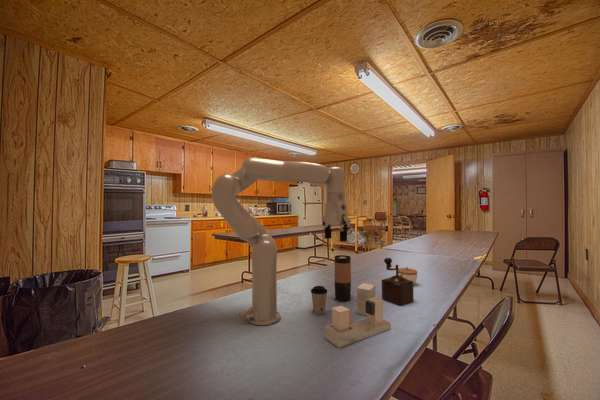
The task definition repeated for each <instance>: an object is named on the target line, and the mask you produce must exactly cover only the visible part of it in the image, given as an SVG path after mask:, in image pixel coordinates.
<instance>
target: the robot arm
mask: <svg viewBox="0 0 600 400" xmlns="http://www.w3.org/2000/svg"><path fill="white" fill-rule="evenodd" d="M345 174H346V173H345V169H344V168H343V167H342V166H331V167H327V166H326V165H324V164H320V163H315V162H307V161H292V160H291V161H290V160H279V159H272V158H271V159H269V158H263V157H255V156H254V157H252V156H251V157H247V158H245V159H244V160H243V162H242V164H241V167H240V168H239V169H237V170H236V171H234V172H232V173H223V174H220V175H219V176H218V177H217V178H216V179H215V180H214V183H213V185H212V188H211V199H212V202H213V205H214V206H215V209H216V210H217V212H218V213H219V214H220V215H221V217H222V219H224V220H225V222H226V223H227V224H228V225H229V227H230V228H231V229H232V230H233V232H234V234H236V236H237V237H238V238H239V239H240V240H242V241H245V242H246V243H247V244H248V245H249V247H250V248H251V282H252V284H251V287H252V288H251V289H252V290H251V297H252V298H251V302H252V303H251V306H250V307H249V309H247V311H241V312H239V318H240V319H242V318H245V319H246V320H247V321H248V322H249V323H250V324H252V325H255V326H269V325H274V324H275V323H276V324H277V323H278V322H279V321H280V320H281V318H282V317H281V313H280V312H279V311H277V309H278V306H277V305H278V303H277V301H278V296H277V295H278V292H277V291H278V290H277V286H278V285H277V284H278V283H277V282H278V281H277V279H278V278H277V273H278V272H277V267H278V266H277V263H278V260H277V259H278V249H277V248H278V247H277V244H276V243H277V242H276V241H275V239H274V237H272V235H271V234H270V232H268V230H267V229H266V228H265V227H264V226H263V224H262V223H261V222H260V221H259V219H257V218H256V217H254V216H253V215H251V214H250V213H249V212H248V211H247V210H246V209H245V207H244V206H243V205H242V204H241V203H240V201H239V200H238V199H237V197H236V196H237V195H239V194H241V193H242V192H243V191H245V190H246V189H247V188H249V187H251V185H254V184H255V183H256V182H258V181H260V180H261V181H268V182H276V183H288V182H300V183H301V182H304V183H309V184H310V185H312V186H314V187H315V186H324V185H325V206H324V216H323V217H322V218H321V222H322V226H323V229H324V239H326V240H327V239H332V235H333V234H332V233H333V232H332V226H334V227H338V228H339V230H340V231H339V241H340V242H341V243H342V242H347V241H348V231H349V228H350V227H351V223H352V219H350V218H349V215H348V214H349V213H348V212H349V211H348V206H347V205H348V204H347V201H346V195H345V193H346V191H345V186H346V185H345V179H346V178H345V177H346V176H345Z"/></svg>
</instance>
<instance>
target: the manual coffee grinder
mask: <svg viewBox="0 0 600 400" xmlns="http://www.w3.org/2000/svg"><path fill="white" fill-rule="evenodd" d="M383 262H384V264H385V265H386V266H385V268H386V270H387V271H395V275H393V276H391V277H387V278H383V279H381V300H383V301H384V302H387V303H390V304H393V305H396V306H400V307H401V306H404V305H408V304H411V303H414V299H415V298H414V284H413V281H410V280H408V279H406V278H403V277H402V276H403V275H401V276H399V275H398V269H399V265H398V264H395V268H394V267H393V266H392V262H393V259H392V258H391V257H385V258H384V259H383ZM391 267H393V268H391Z"/></svg>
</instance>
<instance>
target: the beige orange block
mask: <svg viewBox="0 0 600 400" xmlns="http://www.w3.org/2000/svg"><path fill="white" fill-rule="evenodd" d="M351 311H352V310H351V309H349V308H348V307H345V306H342V305H339V306H335V307H332V308H331V324H332V328H333V329H335V330H336V331H338V332H339V333H341V332H344V331H347V330H349V324H350V323H352V321H351V320H352V316H351V314H352V312H351Z"/></svg>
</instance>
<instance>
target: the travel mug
mask: <svg viewBox="0 0 600 400" xmlns="http://www.w3.org/2000/svg"><path fill="white" fill-rule="evenodd" d="M351 265H352V263H351V256H349V255H343V254H342V255H338V254H337V255H335V256H334V300H335V301H337V302H341V303H348V302H351V292H352V290H351V289H352V266H351Z"/></svg>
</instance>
